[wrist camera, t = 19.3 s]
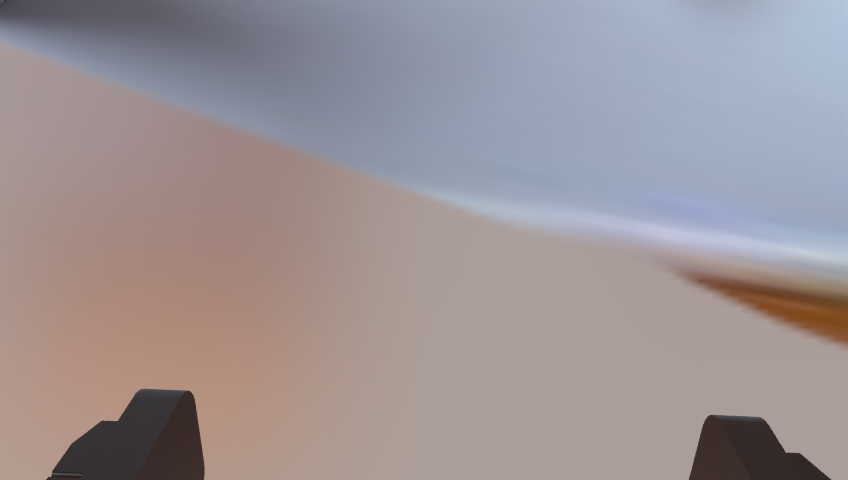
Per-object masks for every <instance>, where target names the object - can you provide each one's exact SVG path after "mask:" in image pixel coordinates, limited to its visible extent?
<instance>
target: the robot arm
mask: <svg viewBox="0 0 848 480" xmlns="http://www.w3.org/2000/svg"><path fill="white" fill-rule="evenodd" d="M4 1H5V0H0V4H1V3H2V2H4ZM46 480H204V460H203V452H202V446H201V439H200V432H199V425H198V418H197V411H196V404H195V399H194V396H193V394H192V393H191V392H190V391H182V390H159V389H141V390H139V391H138V392H137V393H136V394H135V395H134V397H133V399H132V400H131V402H130V403H129V405H128V406H127V408H126V409H125V411H124V412H123V414H122V415H121V417H120V419H119V420H118V421H101V422H100V423H98V424H97V425H96V426H94V427H93V428H92V429H91V430H89V431H88V432H87V433H85V434H84V435H83V436H81V437H80V438H79V439H77V440H76V441H75V442H73V443H72V444H71V446H70V447H69V448H68V450H67V451H66V453H65V454H64V455H63V457H62V458H61V460H60V461H59V462H58V464H57V465H56V467H55V468H54V470H53V471H52V476H51V477H48V478H47V479H46ZM689 480H831V479H830V478H828V477H827V476H826V475H825V474H824V473H823V472H821V471H820V470H819V469H818V468H817V467H815V466H814V465H813V464H812V463H811V462H810V461H808V460H807V459H806V458H805V457H804V456H802V455H801V454H800V453H786V452H785V451H784V449H783V448H782V446H781V444H780V443H779V441H778V440H777V438H776V436H775V435H774V433H773V431H772V430H771V428H770V426H769V425H768V424H767V422H766V421H765V420H764V419H762V418H760V417H746V416H722V415H710V416H708V417H707V419H706V420H705V422H704V424H703V428H702V431H701V435H700V439H699V443H698V447H697V451H696V454H695V458H694V463H693V466H692V470H691V474H690V478H689Z"/></svg>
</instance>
